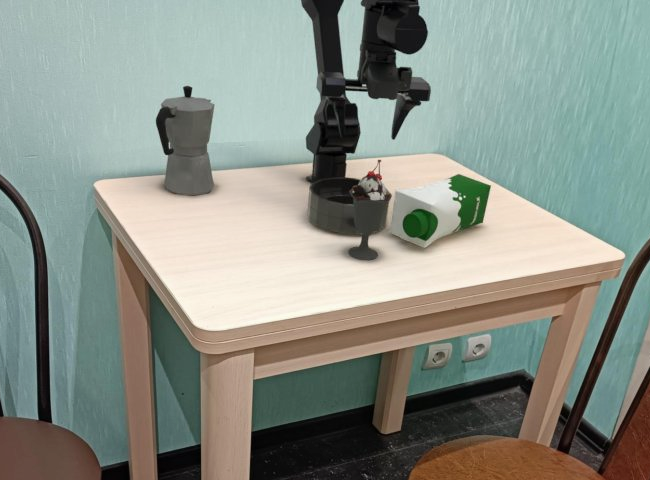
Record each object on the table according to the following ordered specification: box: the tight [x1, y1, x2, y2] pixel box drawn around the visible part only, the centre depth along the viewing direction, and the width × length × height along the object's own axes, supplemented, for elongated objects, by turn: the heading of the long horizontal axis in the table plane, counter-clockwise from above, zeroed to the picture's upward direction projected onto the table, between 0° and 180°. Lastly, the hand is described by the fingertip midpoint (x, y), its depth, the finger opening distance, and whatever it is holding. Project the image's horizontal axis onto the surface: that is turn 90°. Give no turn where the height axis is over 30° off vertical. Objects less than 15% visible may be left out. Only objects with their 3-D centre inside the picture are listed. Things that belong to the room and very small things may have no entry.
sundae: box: [347, 159, 393, 261], centre depth 119 cm, size 7×7×15 cm
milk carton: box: [389, 173, 492, 249], centre depth 131 cm, size 9×9×20 cm
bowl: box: [306, 176, 391, 235], centre depth 133 cm, size 14×14×6 cm
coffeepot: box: [155, 85, 215, 196], centre depth 136 cm, size 15×9×18 cm, turn 153°
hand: (367, 138), depth 133 cm, fingers open, 9 cm apart
